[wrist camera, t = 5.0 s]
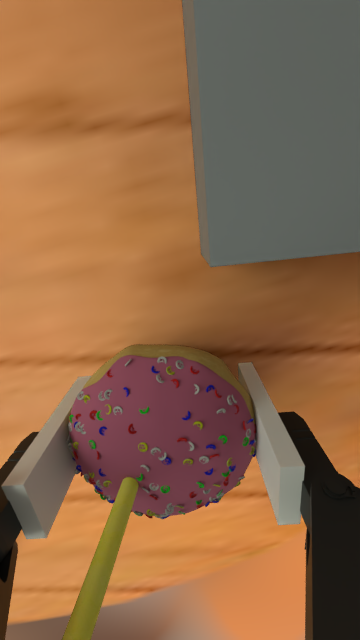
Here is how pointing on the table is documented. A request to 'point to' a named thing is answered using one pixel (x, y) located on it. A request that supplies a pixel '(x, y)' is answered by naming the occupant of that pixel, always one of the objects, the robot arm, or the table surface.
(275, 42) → the plinth
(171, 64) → the table surface
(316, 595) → the robot arm
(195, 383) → the cupcake
